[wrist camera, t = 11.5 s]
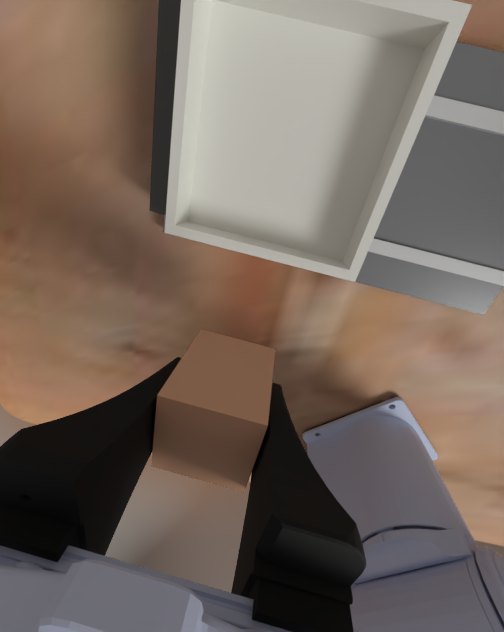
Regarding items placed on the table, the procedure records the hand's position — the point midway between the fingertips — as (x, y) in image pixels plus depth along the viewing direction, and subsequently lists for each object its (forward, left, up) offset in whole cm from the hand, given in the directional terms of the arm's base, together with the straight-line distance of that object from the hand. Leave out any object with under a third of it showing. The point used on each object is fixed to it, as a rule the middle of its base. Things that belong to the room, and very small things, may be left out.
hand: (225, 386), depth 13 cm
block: (0, 0, -2) cm, 2 cm away
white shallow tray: (+8, +7, -7) cm, 13 cm away
